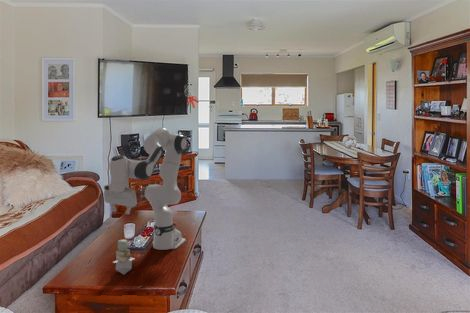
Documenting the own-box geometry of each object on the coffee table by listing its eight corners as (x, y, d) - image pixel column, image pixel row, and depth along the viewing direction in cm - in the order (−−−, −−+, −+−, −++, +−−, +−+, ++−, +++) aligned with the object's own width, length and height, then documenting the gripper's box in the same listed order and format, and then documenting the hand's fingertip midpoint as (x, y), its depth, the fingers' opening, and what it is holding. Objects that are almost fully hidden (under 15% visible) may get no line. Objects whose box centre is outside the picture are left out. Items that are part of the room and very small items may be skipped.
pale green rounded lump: (119, 248, 208) (119, 239, 207) (128, 248, 208) (128, 239, 207) (116, 251, 203) (116, 242, 203) (125, 251, 203) (125, 242, 202)
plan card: (125, 256, 228) (125, 255, 228) (135, 259, 225) (135, 258, 225) (112, 262, 220) (112, 261, 220) (122, 265, 216) (122, 264, 216)
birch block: (123, 256, 209) (122, 247, 208) (130, 258, 207) (129, 249, 206) (116, 260, 205) (115, 251, 204) (123, 261, 203) (123, 252, 202)
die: (135, 274, 207) (135, 256, 211) (124, 272, 200) (124, 253, 204) (123, 277, 210) (123, 259, 214) (112, 275, 202) (112, 257, 207)
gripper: (139, 187, 198) (140, 213, 200) (110, 183, 208) (111, 208, 210) (130, 190, 193) (131, 217, 195) (101, 186, 203) (102, 211, 205)
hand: (121, 212), depth 202 cm, fingers open, 8 cm apart
